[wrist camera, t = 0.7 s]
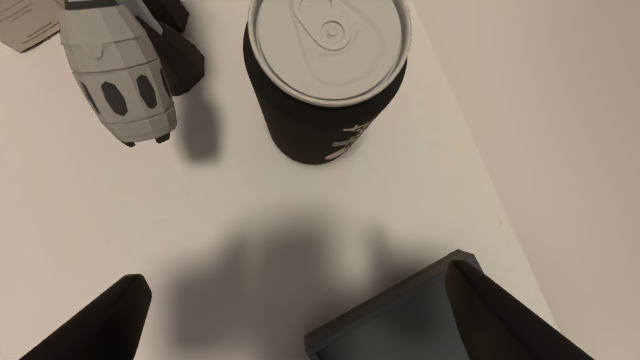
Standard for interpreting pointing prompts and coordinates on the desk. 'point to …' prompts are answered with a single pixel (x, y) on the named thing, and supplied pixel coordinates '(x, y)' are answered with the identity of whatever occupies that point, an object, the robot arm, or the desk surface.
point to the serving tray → (397, 323)
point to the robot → (131, 62)
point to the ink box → (28, 21)
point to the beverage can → (324, 69)
